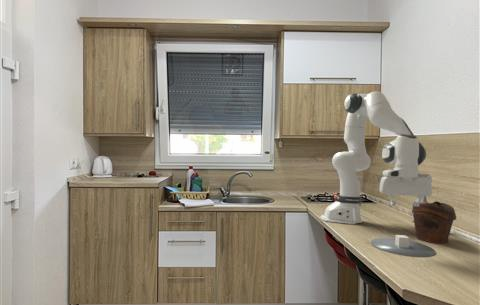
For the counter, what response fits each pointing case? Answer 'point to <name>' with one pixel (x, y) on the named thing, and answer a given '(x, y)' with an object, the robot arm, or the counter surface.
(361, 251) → the counter surface
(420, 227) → the brown tapered pot
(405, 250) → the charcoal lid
